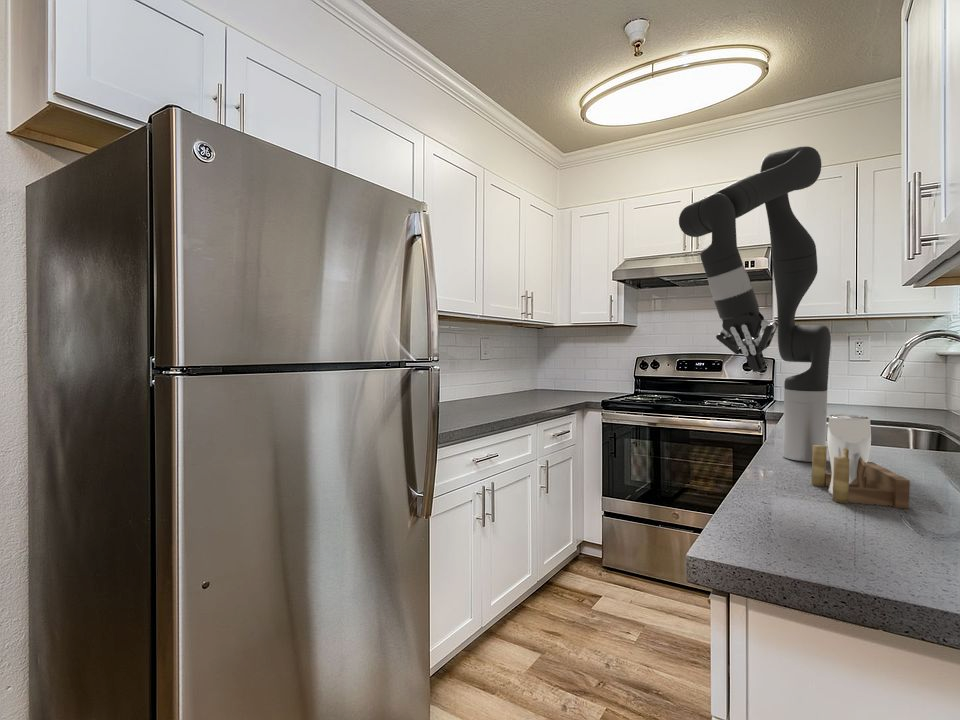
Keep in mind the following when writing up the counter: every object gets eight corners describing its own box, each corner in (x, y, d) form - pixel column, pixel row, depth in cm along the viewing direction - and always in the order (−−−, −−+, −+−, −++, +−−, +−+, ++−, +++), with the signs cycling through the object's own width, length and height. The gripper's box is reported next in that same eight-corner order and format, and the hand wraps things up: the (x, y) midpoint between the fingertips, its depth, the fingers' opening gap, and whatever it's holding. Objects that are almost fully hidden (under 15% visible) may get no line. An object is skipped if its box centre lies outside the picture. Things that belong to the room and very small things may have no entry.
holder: (809, 482, 113) (810, 444, 113) (871, 486, 110) (872, 447, 110) (836, 503, 98) (837, 459, 98) (908, 508, 96) (910, 463, 95)
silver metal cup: (824, 487, 109) (826, 413, 109) (866, 492, 106) (869, 415, 105) (826, 496, 103) (828, 417, 102) (871, 501, 100) (874, 420, 99)
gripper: (772, 279, 108) (800, 360, 109) (714, 293, 119) (739, 367, 121) (753, 290, 104) (781, 374, 105) (694, 304, 115) (721, 380, 117)
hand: (759, 370), depth 113 cm, fingers closed
